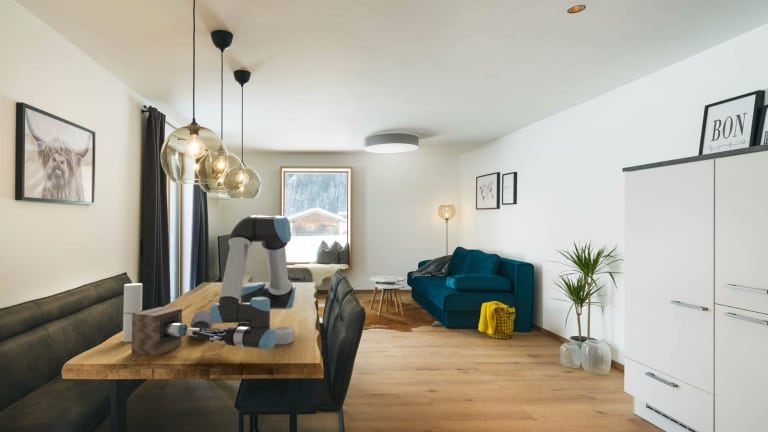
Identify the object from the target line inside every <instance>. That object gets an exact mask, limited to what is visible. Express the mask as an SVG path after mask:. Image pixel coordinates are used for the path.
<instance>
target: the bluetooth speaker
mask: <svg viewBox="0 0 768 432" xmlns="http://www.w3.org/2000/svg"><path fill="white" fill-rule="evenodd" d="M189 328H199V329H201V328H202V329H203V330H204V329H208V328H213V322H212V321H211V319H210V311H207V310H199V311H197V312H196V313H195V314H194V315H193V317H192V319H191V322H190V327H189ZM192 337H194V338H195V339H197V340H198V338H197V336H192Z"/></svg>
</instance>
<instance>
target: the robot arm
mask: <svg viewBox="0 0 768 432" xmlns="http://www.w3.org/2000/svg"><path fill="white" fill-rule="evenodd" d="M291 231H292V230H291V224H290V221H289V219H288V217H287V216H285V215H284V216H283V215H282V216H281V215H249V216H246V217H244V218H242V219H241V220H239V222H237V224H235V226H234V227H233V229H232V230H231V231H230V232H231V233H230V234H229V237H228V242H227V243H228V245H229V250H228V253H227V254H228V255H227V260H226V264H225V268H224V269H225V270H224V274H223V279H222V284H221V287H220V288H221V289H220V292H219V298H218V302H214V303H212V304H211V306H210V309H209V313H210V319H211V321H212V323H217V324H229V323H232V324H235V323H237V324H236V325H230V326H229V327H212V328H208V329H204V330H203V329H202V328H201V329H199V328H190V327H187V333H186V335H187V336H192V337H193V336H197V338H198V339H199V340H204V341H208V342H210V343H214V342H215V341H219V342H224V343H225V345H227V346H232V347H242V348H243V349H245V348H250V349H251V348H252V349H259V350H271V349H272V348H274V346H275V345H276V344H275V343H276V339H277V334H276V331H275V330H273V329H274V328H271V310H291V309H293V307H294V304H295V298H296V297H295V296H296V287H297V286H296V285H294V284H293V283H292V282H291V280H289V273H288V264H287V255H286V247H287V245H288V243H289V242H290V241H291V239H292V232H291ZM253 242H254V243H261V246H262V247H263V249H265V254H266V261H267V268H268V275H269V276H268V277H269V282H268V285H267V284H266V282H264V281H263V282H262V281H260V282H253V283H248V284H245V285H243V280H244V276H245V269H246V264H247V259H248V253H249V249H250V248H252V246H253ZM197 338H196V339H197ZM198 339H197V340H198Z"/></svg>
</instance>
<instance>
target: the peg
mask: <svg viewBox="0 0 768 432" xmlns="http://www.w3.org/2000/svg"><path fill="white" fill-rule="evenodd" d="M187 328H188V325H187V324H186V323H182V324H178V323H164V335H171V336H180V337H184V336H186V335H187Z"/></svg>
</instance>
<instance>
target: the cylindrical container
mask: <svg viewBox="0 0 768 432" xmlns="http://www.w3.org/2000/svg"><path fill="white" fill-rule="evenodd" d="M122 311H123V312H122V313H123V315H122V316H123V317H122V321H123V323H122V342H125V343H128V342H131V343H132V314H133V313H137V312H141V311H143V283H141V282H140V283H139V282H137V283H135V282H134V283H124V285H123V310H122Z"/></svg>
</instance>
